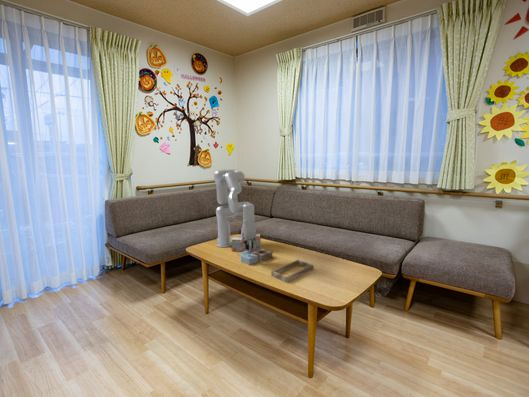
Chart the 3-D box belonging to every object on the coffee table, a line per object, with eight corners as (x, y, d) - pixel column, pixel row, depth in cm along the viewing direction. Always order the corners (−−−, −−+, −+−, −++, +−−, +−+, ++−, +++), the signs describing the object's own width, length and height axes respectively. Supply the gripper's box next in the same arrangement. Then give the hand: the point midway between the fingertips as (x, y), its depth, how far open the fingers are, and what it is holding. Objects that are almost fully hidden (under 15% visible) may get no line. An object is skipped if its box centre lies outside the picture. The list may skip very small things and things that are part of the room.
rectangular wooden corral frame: (271, 275, 165) (271, 271, 165) (297, 263, 183) (297, 259, 182) (287, 282, 157) (287, 278, 156) (313, 269, 174) (313, 264, 174)
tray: (238, 256, 197) (238, 253, 197) (246, 253, 203) (246, 250, 202) (245, 259, 192) (245, 256, 191) (254, 256, 197) (254, 253, 197)
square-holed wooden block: (252, 257, 194) (251, 252, 194) (262, 253, 201) (262, 248, 201) (262, 261, 187) (262, 255, 187) (272, 257, 194) (272, 251, 194)
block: (241, 261, 187) (241, 255, 187) (249, 258, 193) (249, 252, 192) (249, 264, 182) (248, 259, 181) (257, 261, 187) (257, 255, 187)
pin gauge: (246, 253, 186) (246, 239, 185) (249, 252, 188) (249, 238, 187) (249, 254, 184) (249, 240, 182) (252, 253, 186) (252, 239, 184)
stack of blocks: (231, 251, 207) (231, 235, 205) (232, 248, 213) (232, 233, 211) (260, 251, 206) (260, 235, 204) (260, 248, 212) (260, 233, 210)
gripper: (253, 219, 191) (254, 244, 194) (235, 223, 180) (236, 250, 183) (261, 221, 186) (261, 247, 189) (243, 225, 174) (243, 253, 177)
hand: (249, 248), depth 186 cm, fingers closed on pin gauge, 3 cm apart
